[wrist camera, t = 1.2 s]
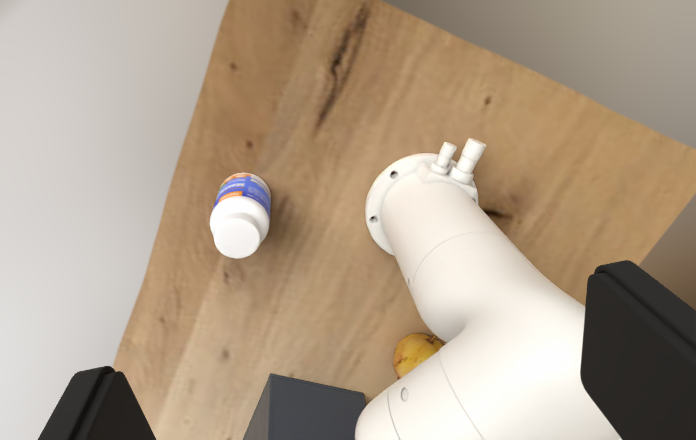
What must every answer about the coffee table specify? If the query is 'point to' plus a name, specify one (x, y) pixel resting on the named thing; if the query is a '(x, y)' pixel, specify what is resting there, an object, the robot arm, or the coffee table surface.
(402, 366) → the fruit
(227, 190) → the pill bottle
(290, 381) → the carton
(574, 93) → the coffee table surface
